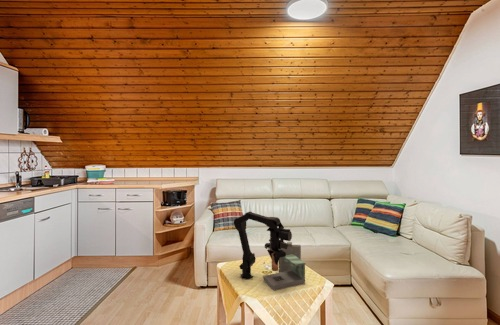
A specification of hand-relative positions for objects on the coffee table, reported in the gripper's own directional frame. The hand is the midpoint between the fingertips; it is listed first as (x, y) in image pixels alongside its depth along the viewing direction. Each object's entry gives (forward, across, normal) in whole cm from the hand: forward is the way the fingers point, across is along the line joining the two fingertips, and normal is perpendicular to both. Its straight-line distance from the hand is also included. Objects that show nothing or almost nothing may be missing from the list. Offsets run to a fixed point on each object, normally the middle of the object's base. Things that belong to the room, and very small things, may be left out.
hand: (275, 263), depth 174 cm
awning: (+10, +1, -14) cm, 17 cm away
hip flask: (+14, +13, -17) cm, 25 cm away
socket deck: (+13, +1, -6) cm, 15 cm away
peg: (+4, 0, 0) cm, 4 cm away
